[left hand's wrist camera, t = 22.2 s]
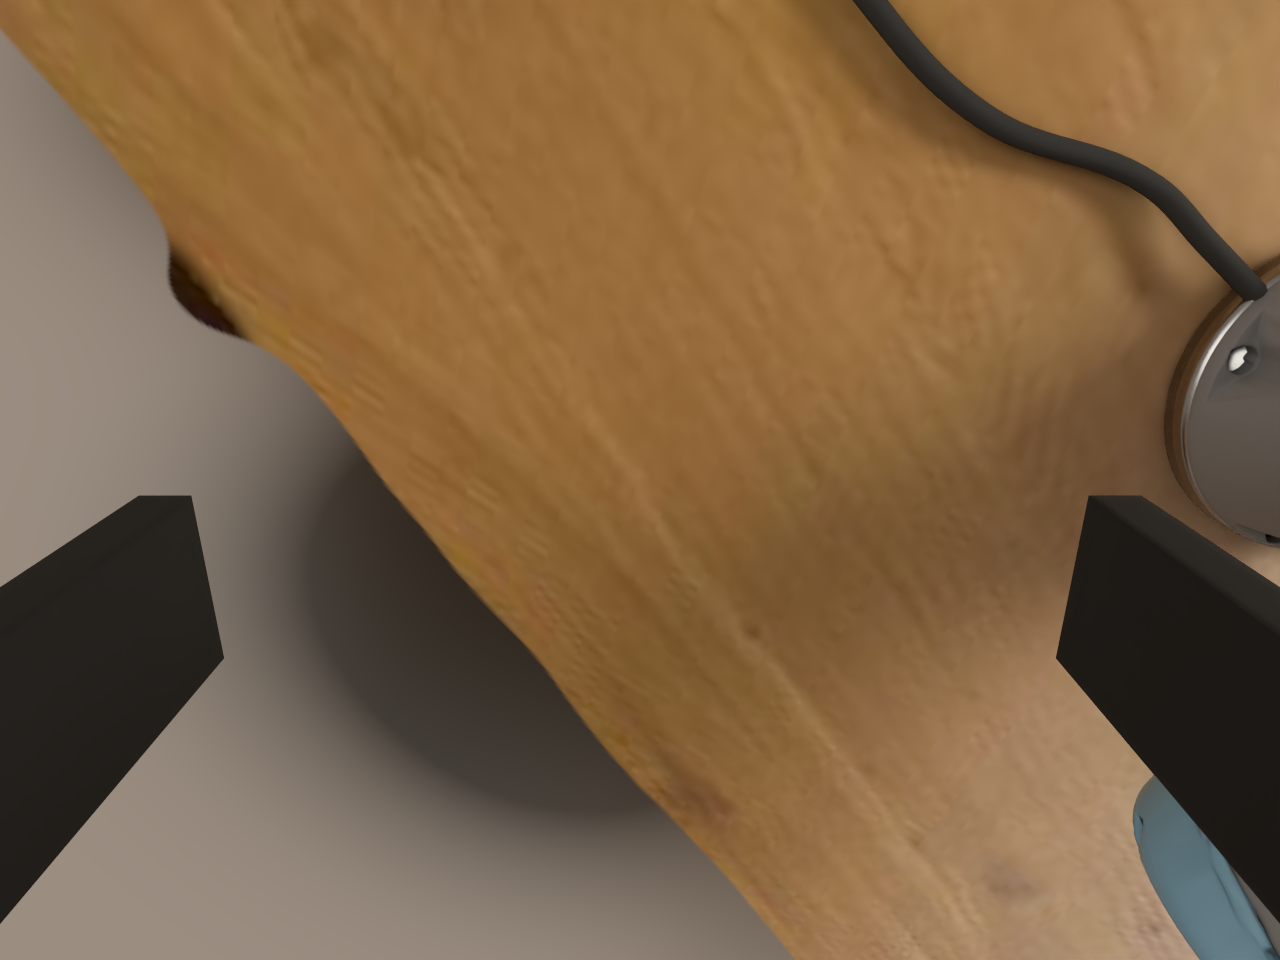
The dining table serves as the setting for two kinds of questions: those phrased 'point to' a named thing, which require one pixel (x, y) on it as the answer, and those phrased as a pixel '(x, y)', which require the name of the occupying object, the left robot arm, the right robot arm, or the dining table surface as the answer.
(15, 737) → the left robot arm
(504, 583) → the dining table surface
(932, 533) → the dining table surface
